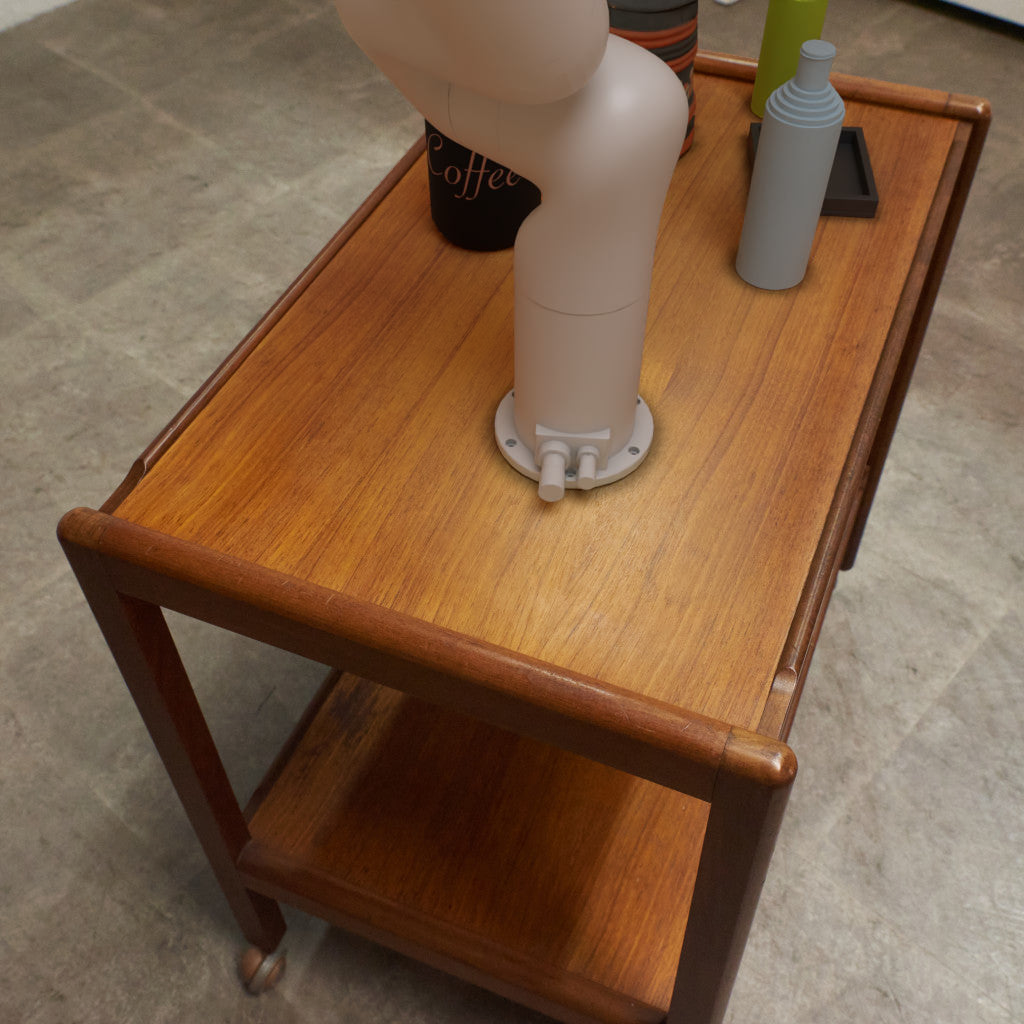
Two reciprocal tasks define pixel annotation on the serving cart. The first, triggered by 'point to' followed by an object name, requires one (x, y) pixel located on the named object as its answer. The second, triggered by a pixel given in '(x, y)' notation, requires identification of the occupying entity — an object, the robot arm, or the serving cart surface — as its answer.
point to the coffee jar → (475, 196)
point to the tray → (841, 175)
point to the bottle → (791, 172)
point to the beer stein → (662, 38)
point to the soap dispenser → (784, 44)
